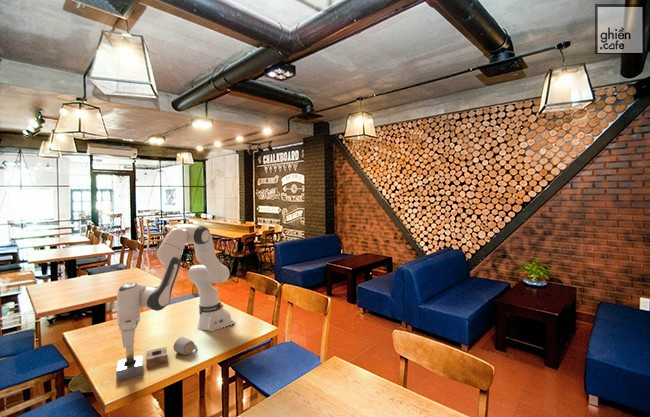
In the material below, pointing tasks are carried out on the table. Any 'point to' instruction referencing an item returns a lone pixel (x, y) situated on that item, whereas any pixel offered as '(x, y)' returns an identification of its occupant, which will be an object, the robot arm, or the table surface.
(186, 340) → the ceramic mug
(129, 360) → the pin
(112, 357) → the table surface
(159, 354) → the mount
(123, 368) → the socket
